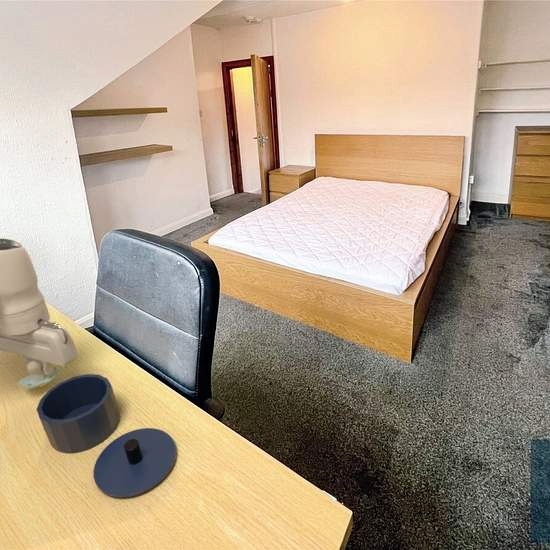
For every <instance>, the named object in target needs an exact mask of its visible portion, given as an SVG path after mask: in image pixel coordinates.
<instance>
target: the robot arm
mask: <svg viewBox="0 0 550 550" xmlns="http://www.w3.org/2000/svg"><path fill="white" fill-rule="evenodd" d="M38 281H39V279H38V275H37V273H36V269H35V267H34V265H33V262H32V259H31V257H30V255H29V253H28V251H27V250H26V248H25V247H24V246H23V245H22V244H21V242H18V241H15V239H10V238H0V351H2V352H7V353H10V354H13V355H18V356H22V359H23V360H24V361H25V362H26V363H27V365H28V364H29V363H30V362H31V361H34V360H40V361H41V363H43V367H42V368H41V371H42V373H43V374H45V375H50V374H51V373H53V372H54V368H53V367H54V365H56V366H59V367H66V366H68V365H69V364H71V363H73V361H75V360H76V359H77V357H78V355H79V354H78V350H77V347H76V345H75V342H74V340H73V338H72V336H71V334H70V332H69V331H68V330H67V329H66V328H65V327H63V326H61V325H60V324H59V323H57V322H54V321H53V322H52V321H50V319H51V315H50V312H49V309H48V306H47V303H46V300H45V297H44V294H43V293H42V291H41V290H40V288H39V284H38V283H39V282H38Z"/></svg>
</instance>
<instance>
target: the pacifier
mask: <svg viewBox="0 0 550 550" xmlns="http://www.w3.org/2000/svg"><path fill="white" fill-rule="evenodd" d="M43 365H44V363H41V361H40V360H34V361H31V362H30V363H29V364H28V363H27V365H26V369H27V371H28V373H31V374H30V375H27V376H24V377H22V378H21V379H20V380H19V384H20V386H21V387H23V388H27V389H33V388H35V389H36V388H41V387H44V386H45V385H48V384H49V383H50V382H51V381H53V379H55V377H56V376H57V374H58V371H59V369H58V367H57V366H53V368H54V372H53V373H51V374H50V375H45V374H43V373H42V371H41V368H42V367H43Z"/></svg>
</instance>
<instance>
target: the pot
mask: <svg viewBox="0 0 550 550" xmlns="http://www.w3.org/2000/svg"><path fill="white" fill-rule="evenodd" d="M36 413H37V416H38V418H39V421H40V423H41V425H42V428H43V430H44V432H45V434H46V437H47V439H48V442H49V444H50V446H51V447H52V448H53V449H54V450H55V451H57V452H60V453H63V454H77V453H81V452H86V451H88V450H91V449H93V448H95V447H96V446H98V445H100V444H102V443H103V442H105V441H106V440H107V439H108V438H110V437H111V435H112V434H113V433H114V432H115V431H116V429H117V428H118V426H119V422H120V418H121V415H120V409H119V406H118V402H117V399H116V396H115V393H114V389H113V385H112V384H111V382H110V380H109V379H108V377H105V376H103V375H101V374H95V373H85V374H81V375H76V376H72V377H70V378H67V379H65V380H62V381H60V382H59V383H57V384H56V385H54V386H52V387H51V388H50V389H49V390H47V391H46V393H45V394H44V395H43V396H42V397H41V398H40V400H39V402H38V405H37V408H36Z"/></svg>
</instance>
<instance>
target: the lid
mask: <svg viewBox="0 0 550 550" xmlns="http://www.w3.org/2000/svg"><path fill="white" fill-rule="evenodd" d="M176 457H177V447H176V443H175V441H174V439H173V437H171V435H170V434H169V433H168V432H166V431H164V430H162V429H158V428H154V427H145V428H138V429H134V430H130V431H128V432H126V433H124V434H121V435H120V436H118V437H117V438H115V439H114V440H112V441H111V442H109V443H108V444H107V446H106V447H105V448H103V450H102V451H101V453H99V455H98V457H97V459H96V461H95V464H94V467H93V479H94V483H95V485H96V487H97V488H98V490H99V491H101V492H102V493H103V494H104V495H107V496H110V497H113V498H130V497H131V498H132V497H135V496H138V495H140V494H143V493H145V492H148V491H149V490H151V489H153V488H154V487H155V486H157V485H158V484H160V483H161V482H162V481H163V480H164V479H165V478H166V477H167V475H168V474H169V473H170V471H171V469H172V468H173V466H174V463H175V462H176Z"/></svg>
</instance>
